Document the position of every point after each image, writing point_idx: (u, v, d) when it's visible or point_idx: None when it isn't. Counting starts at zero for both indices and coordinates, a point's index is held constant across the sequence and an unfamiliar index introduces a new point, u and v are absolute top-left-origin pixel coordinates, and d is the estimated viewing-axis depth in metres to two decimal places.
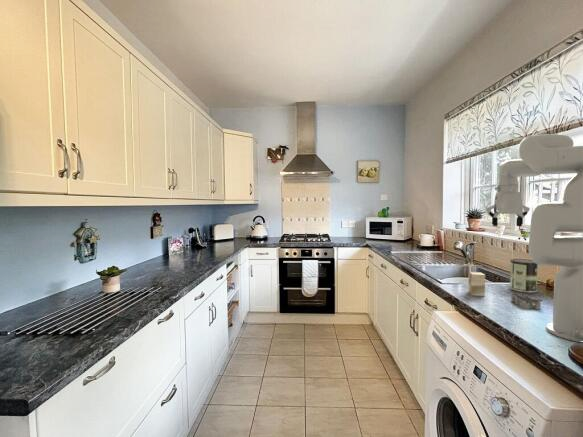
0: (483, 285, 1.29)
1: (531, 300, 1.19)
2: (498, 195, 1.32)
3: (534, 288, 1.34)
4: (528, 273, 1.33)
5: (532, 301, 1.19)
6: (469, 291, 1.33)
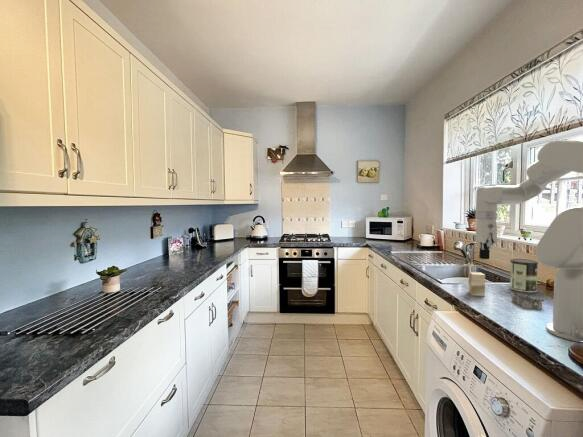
0: (483, 285, 1.29)
1: (531, 300, 1.19)
2: (495, 223, 1.17)
3: (534, 288, 1.34)
4: (528, 273, 1.33)
5: (533, 301, 1.19)
6: (469, 291, 1.33)
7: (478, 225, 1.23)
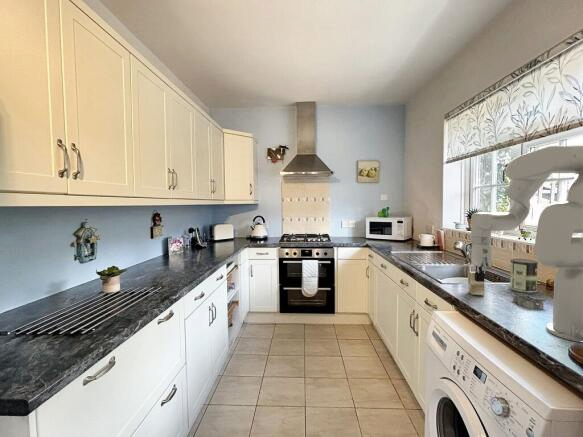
0: (483, 284, 1.29)
1: (532, 299, 1.19)
2: (489, 248, 1.22)
3: (534, 288, 1.34)
4: (528, 273, 1.33)
5: (534, 301, 1.19)
6: (469, 291, 1.34)
7: (473, 249, 1.28)
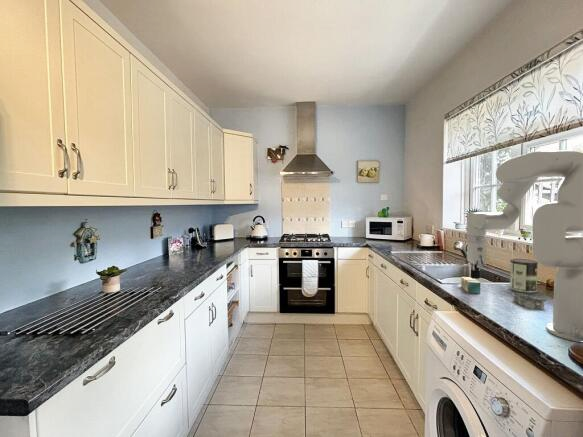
0: (475, 279, 1.39)
1: (533, 299, 1.19)
2: (484, 246, 1.28)
3: (534, 288, 1.34)
4: (528, 273, 1.33)
5: (534, 301, 1.19)
6: (467, 288, 1.36)
7: (469, 247, 1.34)
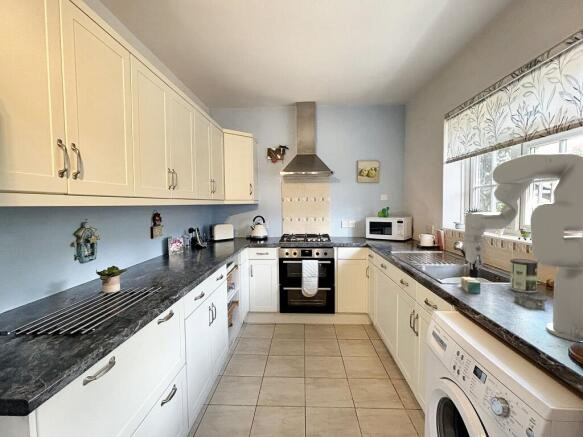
0: (475, 279, 1.39)
1: (533, 299, 1.19)
2: (482, 246, 1.30)
3: (534, 288, 1.34)
4: (528, 273, 1.33)
5: (535, 301, 1.19)
6: (467, 288, 1.36)
7: (467, 247, 1.36)
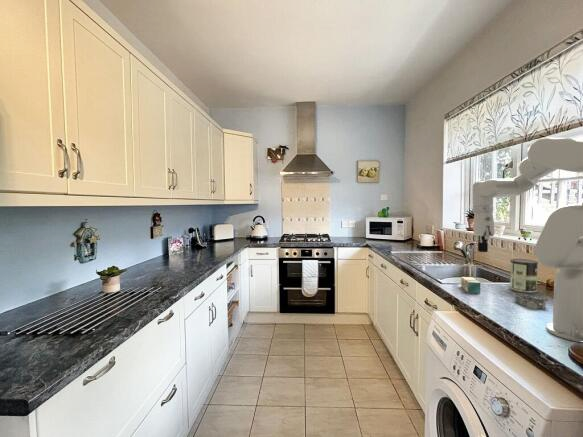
0: (475, 279, 1.39)
1: (534, 299, 1.20)
2: (491, 216, 1.20)
3: (534, 288, 1.34)
4: (528, 273, 1.33)
5: (535, 300, 1.19)
6: (467, 288, 1.36)
7: (475, 219, 1.26)
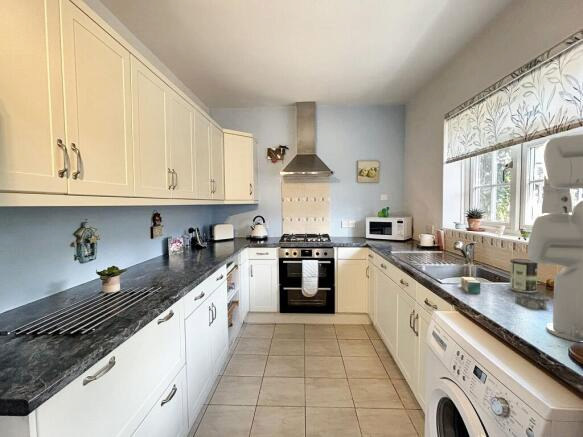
0: (475, 279, 1.39)
1: (534, 299, 1.20)
2: (569, 196, 1.06)
3: (534, 288, 1.34)
4: (528, 273, 1.33)
5: (535, 300, 1.20)
6: (467, 288, 1.36)
7: (547, 200, 1.12)
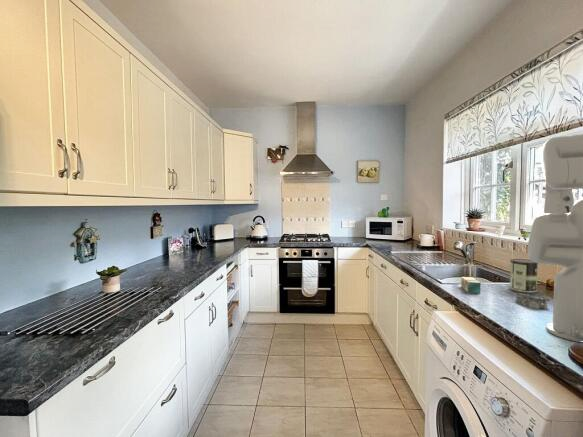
0: (475, 279, 1.39)
1: (535, 299, 1.20)
2: (571, 195, 1.06)
3: (534, 288, 1.34)
4: (528, 273, 1.33)
5: (536, 300, 1.20)
6: (467, 288, 1.36)
7: (549, 199, 1.12)
